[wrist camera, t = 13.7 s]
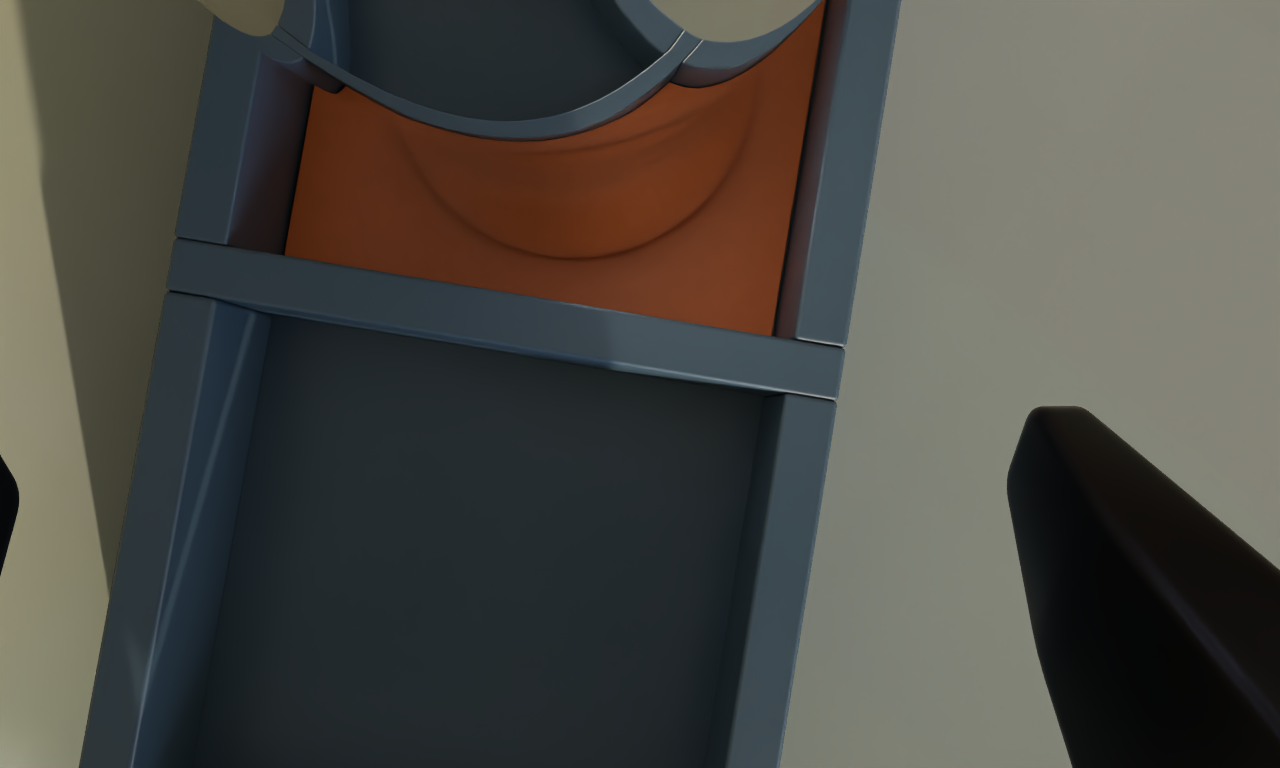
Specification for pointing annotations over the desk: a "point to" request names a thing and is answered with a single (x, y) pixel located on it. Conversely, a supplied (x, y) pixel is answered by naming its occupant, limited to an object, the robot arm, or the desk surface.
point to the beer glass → (543, 100)
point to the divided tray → (482, 447)
